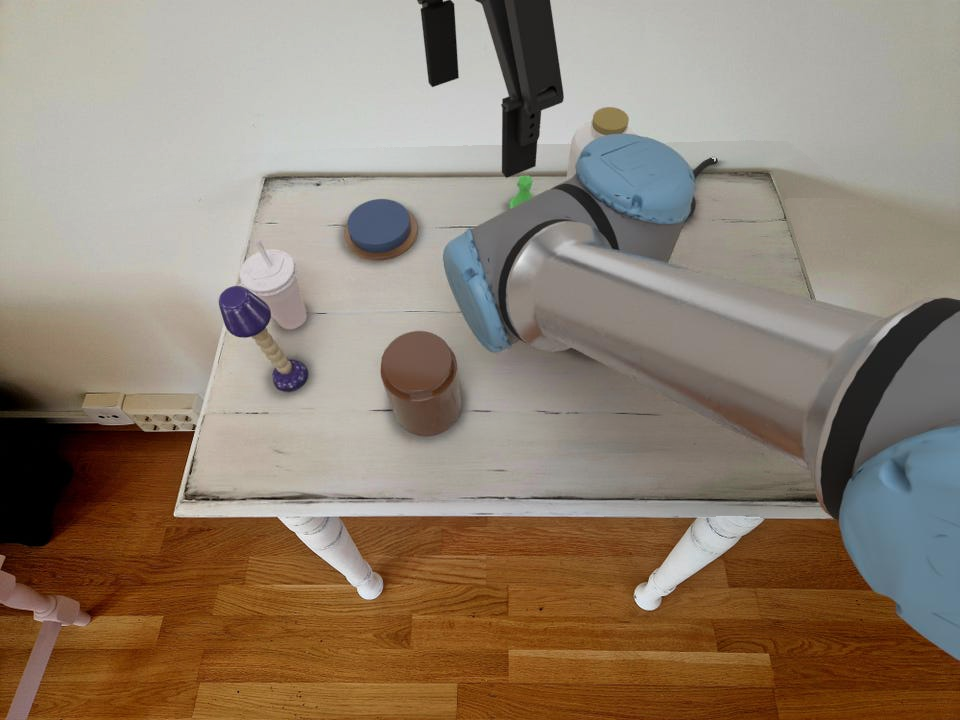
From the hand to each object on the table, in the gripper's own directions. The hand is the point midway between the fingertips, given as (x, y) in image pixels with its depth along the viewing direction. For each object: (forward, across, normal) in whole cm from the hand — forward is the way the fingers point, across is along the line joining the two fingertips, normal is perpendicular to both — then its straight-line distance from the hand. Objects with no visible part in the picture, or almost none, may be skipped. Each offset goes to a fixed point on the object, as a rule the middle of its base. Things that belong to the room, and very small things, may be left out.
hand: (478, 122), depth 49 cm
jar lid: (+27, -20, -6) cm, 34 cm away
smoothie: (+29, -12, -22) cm, 38 cm away
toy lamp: (+29, -4, -25) cm, 39 cm away
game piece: (+29, -14, +14) cm, 35 cm away
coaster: (+29, -20, -6) cm, 35 cm away
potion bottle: (+29, -6, +20) cm, 36 cm away
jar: (+29, +8, -12) cm, 32 cm away
